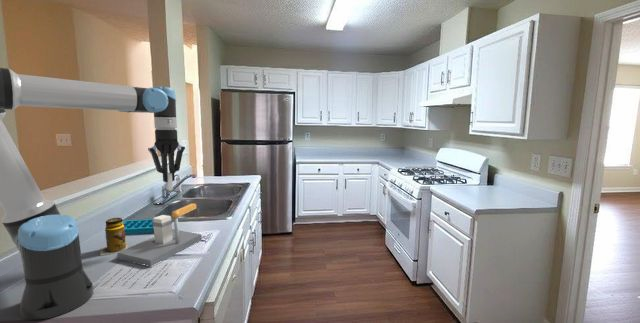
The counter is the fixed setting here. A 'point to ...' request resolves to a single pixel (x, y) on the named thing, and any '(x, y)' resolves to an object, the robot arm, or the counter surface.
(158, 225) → the white upright block
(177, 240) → the clip
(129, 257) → the grey flat slab
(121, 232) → the condiment
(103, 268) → the counter surface
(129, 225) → the ice cube tray
